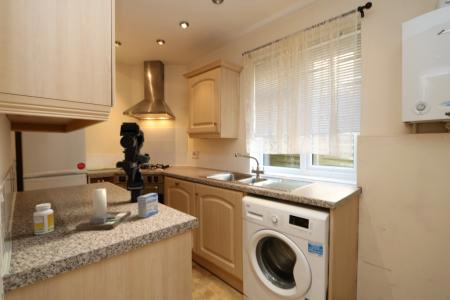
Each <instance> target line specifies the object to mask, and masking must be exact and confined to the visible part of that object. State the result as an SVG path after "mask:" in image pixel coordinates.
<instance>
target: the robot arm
mask: <svg viewBox="0 0 450 300" xmlns="http://www.w3.org/2000/svg"><path fill="white" fill-rule="evenodd" d="M119 137H121V138H120V140H119V145H120V146H121V147H122V148H123V150H122V154H124V159H122V160H121V161H120V160H119V161H117V162H116V163H115V168H116V169H122V170H123V171H124V173H125V174H126V176H127V178H126V183H125V184H126V191H127V192H129V193H130V199H129V202H130V203H138V199H137V197H140V196H143V192H142V191H143V190H147V189H146V181H145V179H144V177H143V174H142V172H141V165H142V166H143V165H147V164H149V162H150V160H151V156H150V154H149V153H146V152H145V153H143V154H142V153H141V150H142V148H143V147H144V143H145V132H143V130H141V127H140V125H139V124H138V122H136V121H135V122H134V121H130V122H129V121H127V122H125V121H123V122H122V123H121V124H120V129H119Z"/></svg>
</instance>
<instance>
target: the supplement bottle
mask: <svg viewBox="0 0 450 300" xmlns="http://www.w3.org/2000/svg"><path fill="white" fill-rule="evenodd" d="M51 206H52V205H51V203H50V202H45V203H41V204H37V205H35V210H36V211H35V212H33V229H34V230H33V232H34V235H46V234H48V233H51V232H53V231H54V229H55V222H54V221H55V218H54V210H53V209H51Z"/></svg>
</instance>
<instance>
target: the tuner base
mask: <svg viewBox="0 0 450 300" xmlns="http://www.w3.org/2000/svg"><path fill="white" fill-rule="evenodd" d="M131 213H132V212H131V211H130V210H128V211H125V210H124V211H107V214H110V216H111V217H115V219H109V220H108V221H107V222H105V223H101V224H90V218H91V217H90V218H88V219H86V220H85V221H83V222H81V223H79V224H77V225H75V231H97V230H98V231H99V230H102V231H103V230H113V229H115V228H116V227H117V226H118V225H120V224H121V223H122V222H124V221H125V220H126V219H127V218H129V217H130V216H132V214H131Z"/></svg>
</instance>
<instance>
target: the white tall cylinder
mask: <svg viewBox="0 0 450 300" xmlns="http://www.w3.org/2000/svg"><path fill="white" fill-rule="evenodd" d="M91 191H92V209H93V211H92V212H93V216H91V217H90V224H101V223H105V222H107V221H108V220H109V219H115V217H111V216H110V214H107V212H108V205H107V189H106V188H105V187H104V188H95V189H92V190H91Z"/></svg>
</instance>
